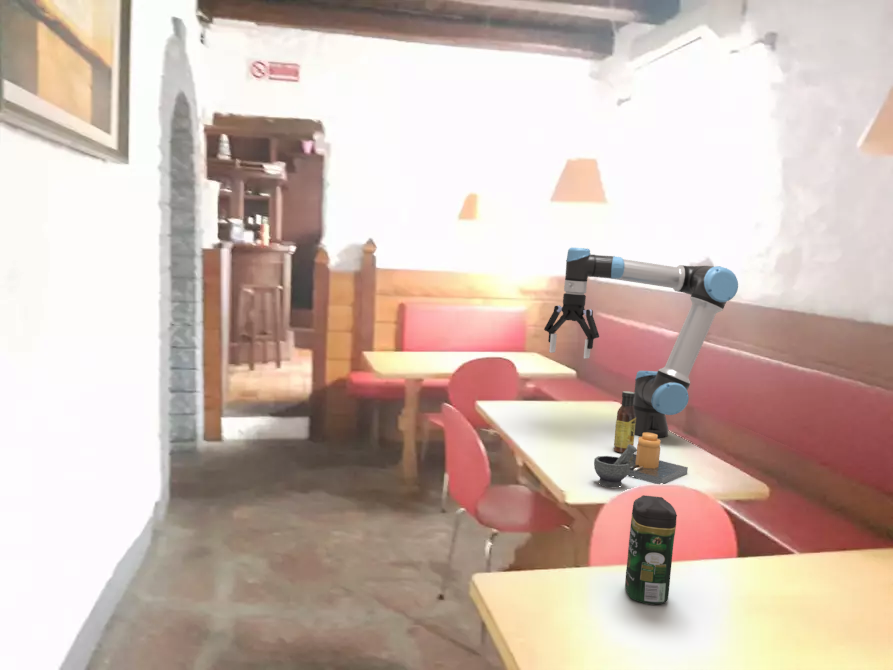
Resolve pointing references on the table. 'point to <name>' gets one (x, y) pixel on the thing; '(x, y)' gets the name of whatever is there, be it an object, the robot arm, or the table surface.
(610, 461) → the mortar and pestle
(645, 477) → the junction plate
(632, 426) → the sauce bottle
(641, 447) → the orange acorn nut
